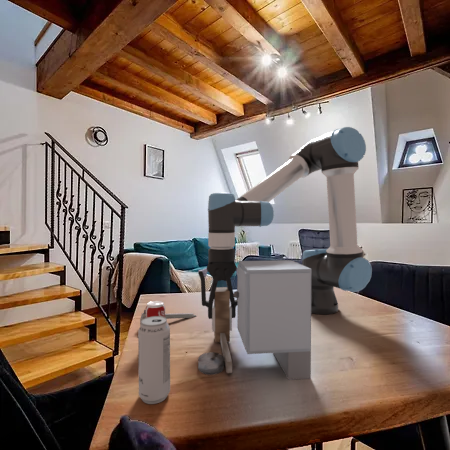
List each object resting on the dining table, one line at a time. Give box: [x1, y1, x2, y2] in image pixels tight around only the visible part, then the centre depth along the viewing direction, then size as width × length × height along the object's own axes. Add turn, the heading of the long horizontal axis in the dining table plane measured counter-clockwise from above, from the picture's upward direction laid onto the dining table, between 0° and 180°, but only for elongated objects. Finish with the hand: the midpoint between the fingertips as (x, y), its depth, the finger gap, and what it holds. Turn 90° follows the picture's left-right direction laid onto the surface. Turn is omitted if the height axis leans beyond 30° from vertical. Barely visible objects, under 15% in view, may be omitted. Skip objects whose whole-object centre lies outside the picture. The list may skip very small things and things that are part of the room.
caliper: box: [139, 308, 197, 327], centre depth 96 cm, size 20×1×6 cm, turn 128°
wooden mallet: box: [213, 286, 233, 374], centre depth 73 cm, size 4×21×14 cm, turn 6°
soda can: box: [144, 300, 166, 318], centre depth 77 cm, size 5×5×12 cm
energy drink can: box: [137, 316, 171, 405], centre depth 56 cm, size 6×6×15 cm
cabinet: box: [233, 259, 312, 381], centre depth 67 cm, size 16×13×24 cm
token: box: [197, 351, 225, 376], centre depth 67 cm, size 6×6×2 cm
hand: (221, 329), depth 81 cm, fingers closed on wooden mallet, 4 cm apart
